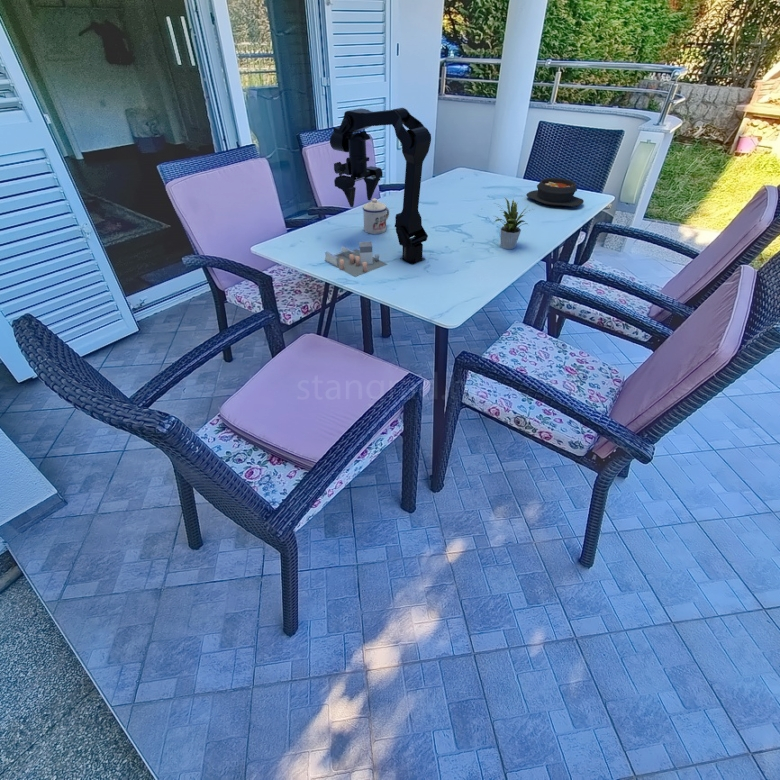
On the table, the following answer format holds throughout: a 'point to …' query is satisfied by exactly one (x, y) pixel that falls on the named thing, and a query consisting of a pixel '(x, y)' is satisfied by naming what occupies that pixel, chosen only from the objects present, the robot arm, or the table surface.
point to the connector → (366, 252)
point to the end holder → (334, 258)
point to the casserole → (556, 192)
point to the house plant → (510, 226)
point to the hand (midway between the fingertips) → (360, 203)
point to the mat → (358, 270)
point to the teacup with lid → (375, 217)
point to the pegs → (357, 261)
